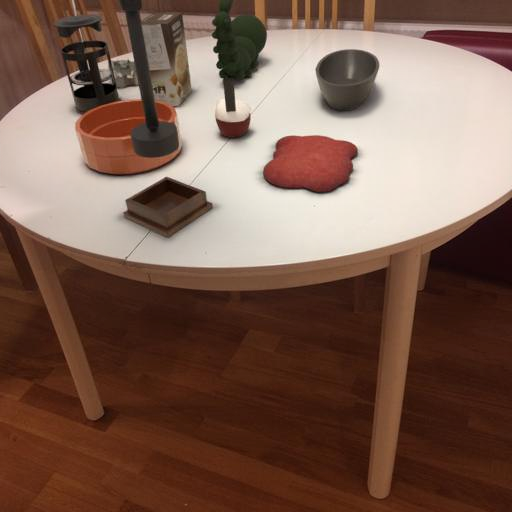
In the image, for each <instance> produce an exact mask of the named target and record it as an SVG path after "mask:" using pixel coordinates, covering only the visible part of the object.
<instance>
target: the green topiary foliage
mask: <svg viewBox="0 0 512 512" xmlns="http://www.w3.org/2000/svg"><path fill="white" fill-rule="evenodd" d="M218 2H219V3H218V10H219V12H217V13H216V14H215V16H214V18H213V19H212V21H211V24H212V25H213V26H214V27H215V29H214V31H212V33H211V37H212V39H214V40H216V42H215V43H216V44H215V46H213V47H212V52H213V53H214V54H217V59H218V60H217V62H215V66H216V68H217V69H218V70H219V71H218V76H219V78H220V79H222V80H223V79H224V78H229V77H230V76H235V78H236V79H237V80H243V79H244V78H245V77H246V78H250V77H252V75H253V71H252V70H255V69H256V68H258V65H259V60H258V59H259V56H260V55H259V54H260V53H261V52H262V51H263V50H264V48H265V46H266V43H267V40H268V39H267V37H268V32H267V28H266V27H265V25H264V23H263V22H262V20H261V19H260V18H259V17H257V16H255V15H253V14H250V13H243V14H240V15H238V16H236V17H234V18H233V19H232V17H231V15H230V14H229V13H230V11H231V9H232V6H233V4H234V0H219V1H218Z"/></svg>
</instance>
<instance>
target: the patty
mask: <svg viewBox="0 0 512 512" xmlns="http://www.w3.org/2000/svg"><path fill="white" fill-rule="evenodd" d="M275 149H276V150H275V151H274V152H272V153H273V154H272V159H271V160H269V162H267V163H266V164H265V165H264V166H263V170H262V175H263V177H264V179H265V180H266V181H267V182H269V183H270V184H272V185H274V186H277V187H281V188H287V189H298V188H299V189H300V188H304V189H308V190H310V191H313V192H318V193H322V192H323V193H325V192H331V191H333V190H334V189H336V188H337V187H338V186H341V185H344V184H346V182H348V180H349V179H350V173H351V172H352V171H353V170H354V163H353V162H352V160H351V159H352V158H354V157H356V156H357V154H358V147H357V145H356V144H354V143H353V142H351V141H348V140H344V139H343V140H342V139H334V138H333V137H329V136H327V135H326V136H325V135H320V134H319V135H318V134H317V135H314V134H313V135H304V136H302V135H286V136H282V137H281V138H279V139H278V140H277V141H276V143H275Z"/></svg>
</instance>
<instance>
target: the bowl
mask: <svg viewBox="0 0 512 512" xmlns="http://www.w3.org/2000/svg"><path fill="white" fill-rule="evenodd" d="M379 70H380V61H379V59H378V57H377V56H376V55H375V54H373V53H372V52H369V51H368V50H367V51H366V50H363V49H356V48H351V49H349V48H347V49H346V48H345V49H339V50H336V51H332V52H330V53H328V54H326V55H325V56H323V57H322V58H321V59H320V60H319V61H318V62H317V64H316V67H315V75H316V80H317V84H318V87H319V90H320V92H321V94H322V96H323V98H324V100H325V101H326V103H327V104H328V105H329V107H330V108H332V109H334V110H336V111H341V112H342V111H343V112H344V111H351V110H353V109H356V108H357V107H359V106H360V105H361V104H362V103H363V101H364V100H365V99H366V98H367V97H368V95H369V93H370V92H371V90H372V87H373V85H374V83H375V82H376V79H377V76H378V73H379Z"/></svg>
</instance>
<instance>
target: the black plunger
mask: <svg viewBox="0 0 512 512" xmlns="http://www.w3.org/2000/svg"><path fill="white" fill-rule="evenodd" d="M140 11H141V10H137V11H128V12H126V11H124V14H125V20H126V24H127V30H128V35H129V41H130V45H131V52H132V56H133V61H134V63H135V68H136V73H137V78H138V84H139V85H138V90H139V93H140V99H141V100H142V105H143V110H144V116H145V121H146V123H144V124H141V125H138V126H137V127H135V128H134V129H132V131H131V133H130V135H131V140H132V145H133V149H134V152H135V154H137V155H138V156H141V157H146V158H156V157H162V156H166V155H169V154H171V153H173V152H175V151H176V150H177V149H178V148H179V138H178V132H177V127H176V125H174V124H173V123H170V122H165V121H158V116H157V110H156V104H155V98H154V93H153V87H152V81H151V75H150V69H149V64H148V58H147V52H146V46H145V40H144V35H143V29H142V23H141V20H142V18H141V12H140Z"/></svg>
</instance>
